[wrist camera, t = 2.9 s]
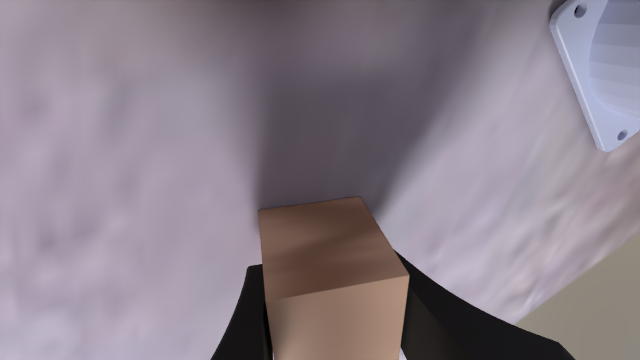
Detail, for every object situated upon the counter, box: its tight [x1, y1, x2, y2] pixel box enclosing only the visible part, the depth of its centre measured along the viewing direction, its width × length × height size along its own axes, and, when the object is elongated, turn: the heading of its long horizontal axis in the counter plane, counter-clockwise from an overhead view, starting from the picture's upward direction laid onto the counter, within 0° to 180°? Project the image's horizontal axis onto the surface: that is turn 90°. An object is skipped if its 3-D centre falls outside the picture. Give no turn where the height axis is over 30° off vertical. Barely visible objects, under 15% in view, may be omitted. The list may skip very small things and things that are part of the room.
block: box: [258, 196, 409, 360], centre depth 13 cm, size 4×4×5 cm
